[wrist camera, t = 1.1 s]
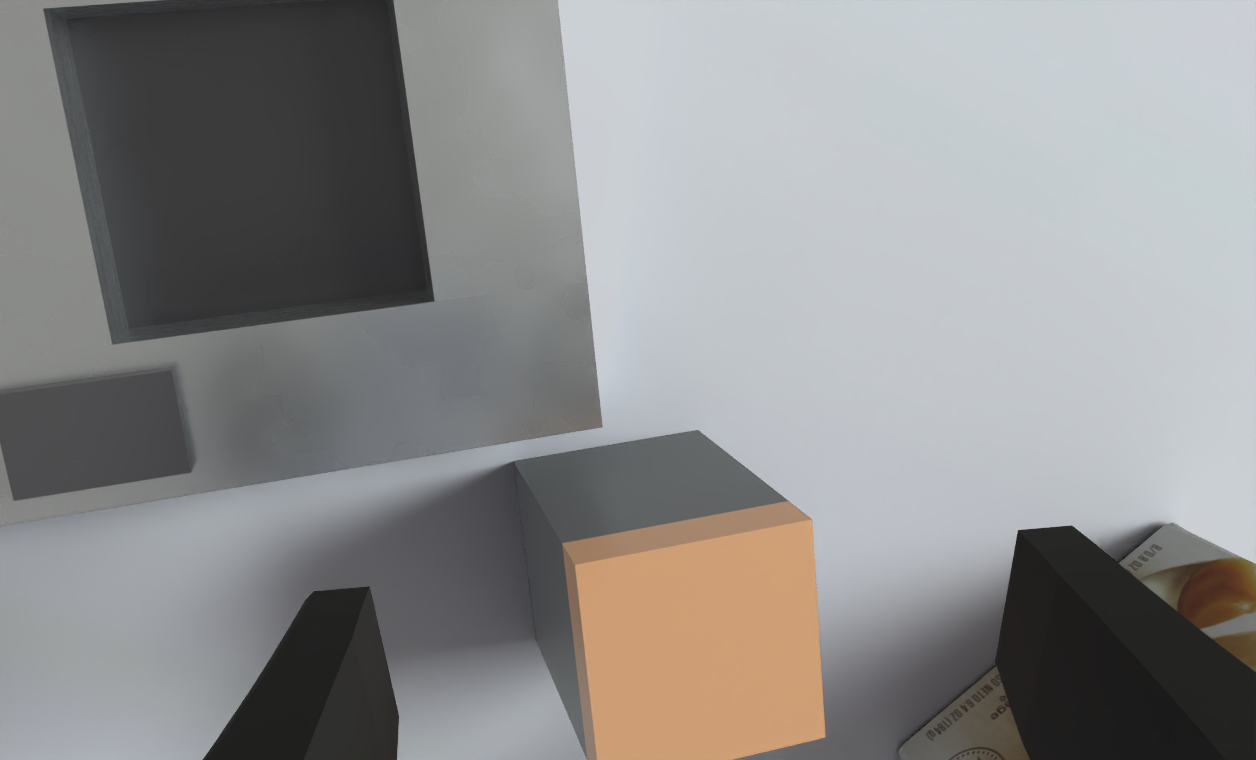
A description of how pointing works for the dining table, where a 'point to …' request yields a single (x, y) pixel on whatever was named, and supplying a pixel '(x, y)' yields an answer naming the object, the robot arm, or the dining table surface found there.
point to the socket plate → (280, 242)
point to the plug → (672, 600)
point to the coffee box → (1169, 566)
